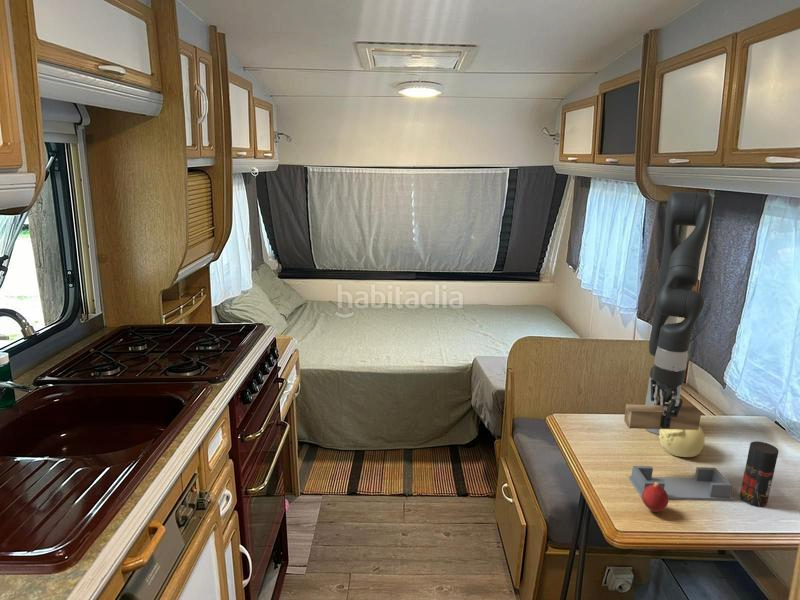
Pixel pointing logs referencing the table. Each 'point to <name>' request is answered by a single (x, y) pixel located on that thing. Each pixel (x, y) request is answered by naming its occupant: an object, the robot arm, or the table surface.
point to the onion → (655, 497)
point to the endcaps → (685, 484)
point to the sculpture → (682, 441)
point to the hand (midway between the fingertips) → (660, 423)
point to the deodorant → (758, 473)
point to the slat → (652, 417)
